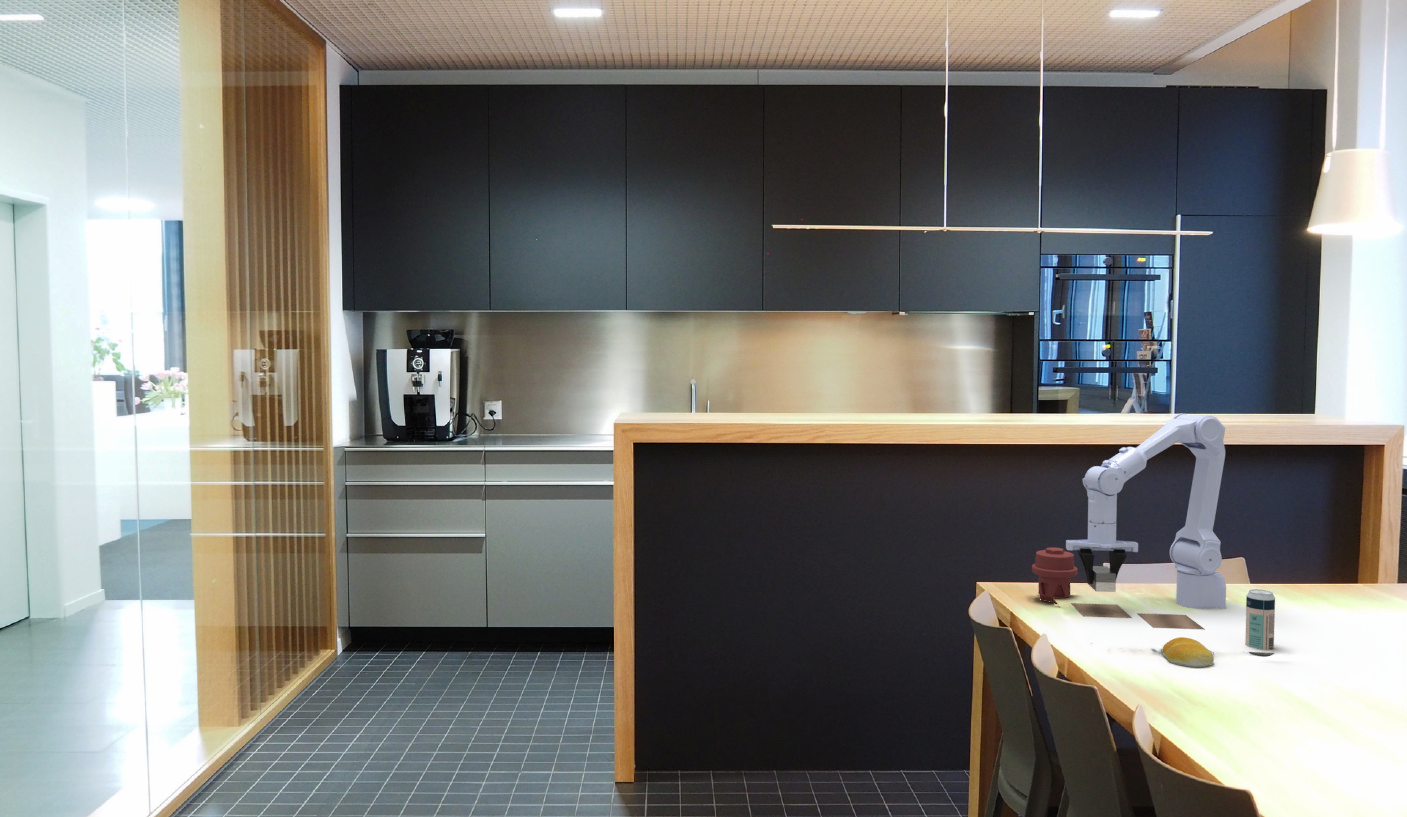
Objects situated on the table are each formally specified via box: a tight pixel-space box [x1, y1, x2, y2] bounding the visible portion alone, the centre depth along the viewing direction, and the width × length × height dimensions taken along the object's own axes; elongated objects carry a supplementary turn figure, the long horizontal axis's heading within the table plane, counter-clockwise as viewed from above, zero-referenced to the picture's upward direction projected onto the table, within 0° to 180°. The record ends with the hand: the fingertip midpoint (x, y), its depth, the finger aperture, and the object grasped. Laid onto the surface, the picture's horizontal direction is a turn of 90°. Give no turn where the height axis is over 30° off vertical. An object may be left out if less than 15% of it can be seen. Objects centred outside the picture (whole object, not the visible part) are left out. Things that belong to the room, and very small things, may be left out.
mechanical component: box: [1031, 546, 1079, 605], centre depth 219 cm, size 12×10×10 cm
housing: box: [1087, 565, 1117, 593], centre depth 205 cm, size 4×7×4 cm, turn 172°
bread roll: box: [1162, 636, 1215, 668], centre depth 176 cm, size 8×9×4 cm
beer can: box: [1244, 588, 1276, 658], centre depth 179 cm, size 5×5×12 cm
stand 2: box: [1136, 612, 1206, 630], centre depth 197 cm, size 10×11×2 cm
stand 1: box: [1070, 602, 1133, 619], centre depth 206 cm, size 10×11×2 cm
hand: (1101, 583), depth 205 cm, fingers closed on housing, 4 cm apart
